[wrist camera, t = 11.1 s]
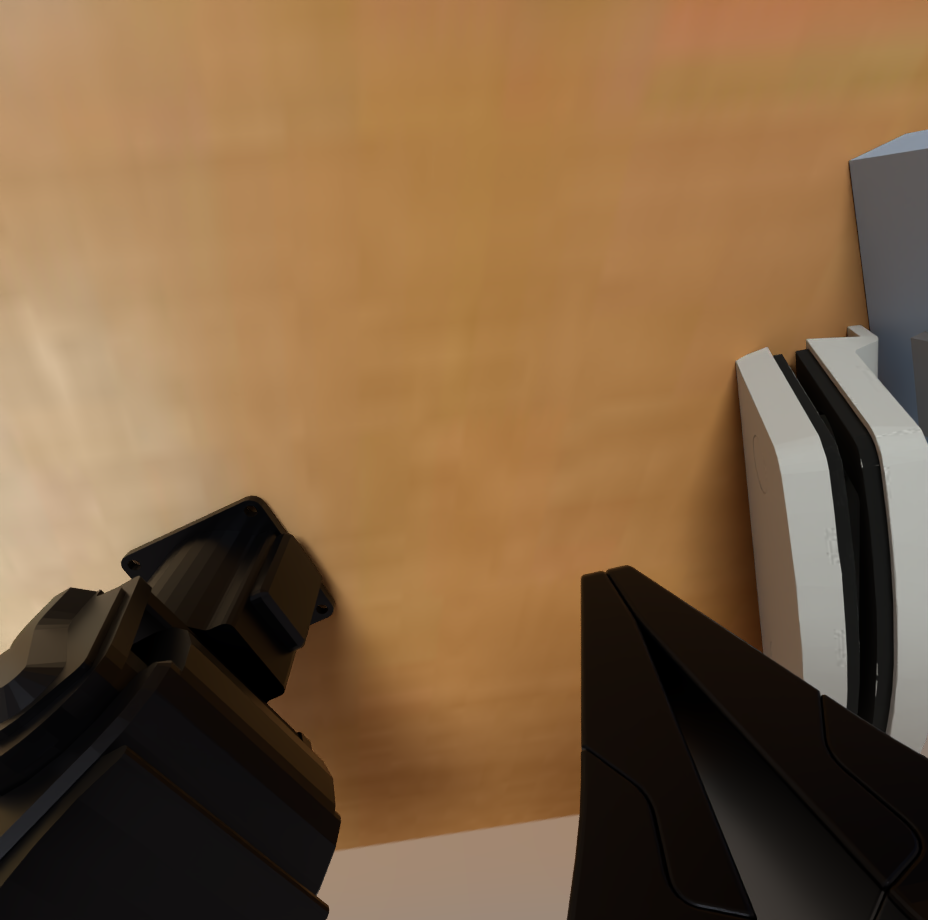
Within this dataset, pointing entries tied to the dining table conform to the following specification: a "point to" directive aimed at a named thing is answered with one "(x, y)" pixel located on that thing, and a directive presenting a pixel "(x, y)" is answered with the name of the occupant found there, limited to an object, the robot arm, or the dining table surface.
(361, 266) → the dining table surface
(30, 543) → the dining table surface
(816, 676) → the white black-striped curved device
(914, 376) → the cabinet side panel
